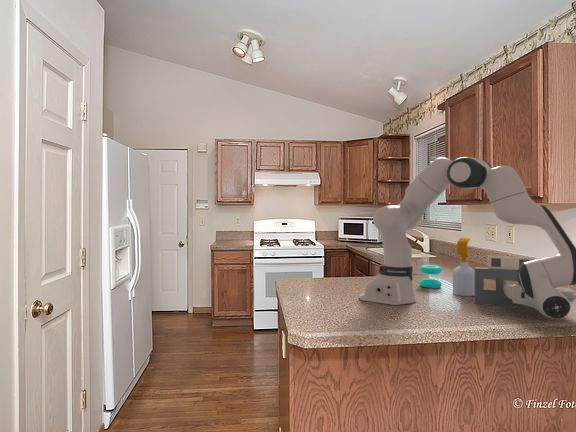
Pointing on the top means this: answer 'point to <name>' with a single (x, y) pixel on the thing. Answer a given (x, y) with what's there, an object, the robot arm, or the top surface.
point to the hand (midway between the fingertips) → (532, 288)
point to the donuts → (432, 270)
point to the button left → (489, 284)
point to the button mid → (509, 282)
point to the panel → (498, 280)
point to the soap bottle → (463, 272)
